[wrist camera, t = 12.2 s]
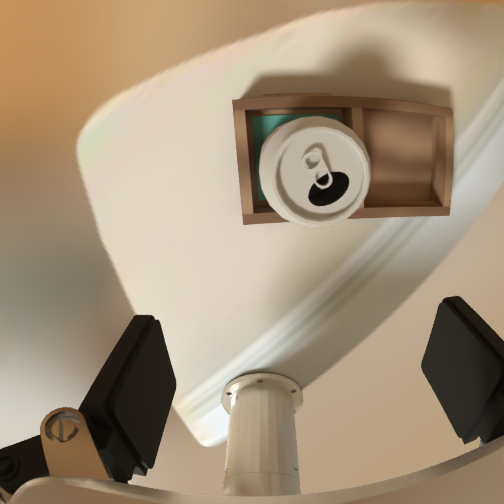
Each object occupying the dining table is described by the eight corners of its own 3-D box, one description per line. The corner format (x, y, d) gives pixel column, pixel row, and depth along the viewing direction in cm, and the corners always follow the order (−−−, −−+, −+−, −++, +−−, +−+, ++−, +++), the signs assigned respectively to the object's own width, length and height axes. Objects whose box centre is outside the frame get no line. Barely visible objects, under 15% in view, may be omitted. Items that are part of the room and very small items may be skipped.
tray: (431, 205, 30) (449, 215, 27) (245, 213, 31) (243, 224, 28) (432, 106, 26) (452, 105, 22) (235, 101, 27) (231, 96, 23)
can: (288, 209, 30) (304, 258, 19) (244, 149, 28) (232, 161, 17) (349, 169, 28) (399, 195, 17) (307, 106, 26) (338, 91, 15)
